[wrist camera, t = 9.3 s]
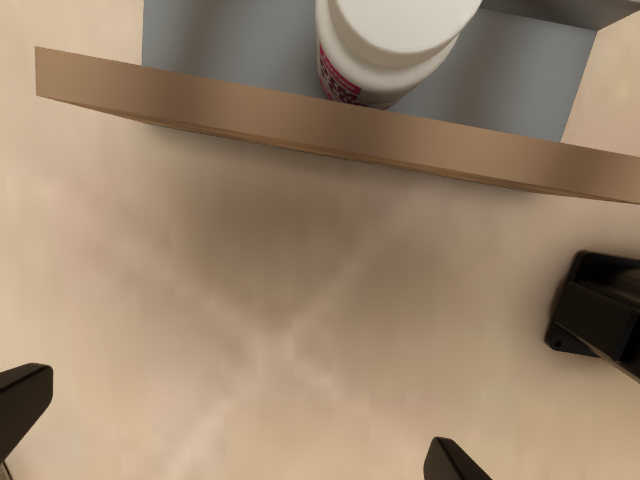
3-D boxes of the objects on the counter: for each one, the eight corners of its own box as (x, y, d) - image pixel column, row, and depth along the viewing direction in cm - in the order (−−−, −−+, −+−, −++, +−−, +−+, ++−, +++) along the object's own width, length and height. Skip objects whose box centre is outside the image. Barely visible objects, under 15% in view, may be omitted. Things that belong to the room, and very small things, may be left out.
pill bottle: (306, 103, 16) (289, 38, 8) (331, 0, 15) (342, -203, 7) (394, 129, 16) (468, 91, 8) (425, 29, 15) (547, -131, 7)
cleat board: (602, -28, 15) (824, -182, 9) (530, 192, 18) (659, 207, 11) (160, -117, 15) (21, -363, 8) (149, 124, 17) (36, 95, 10)
